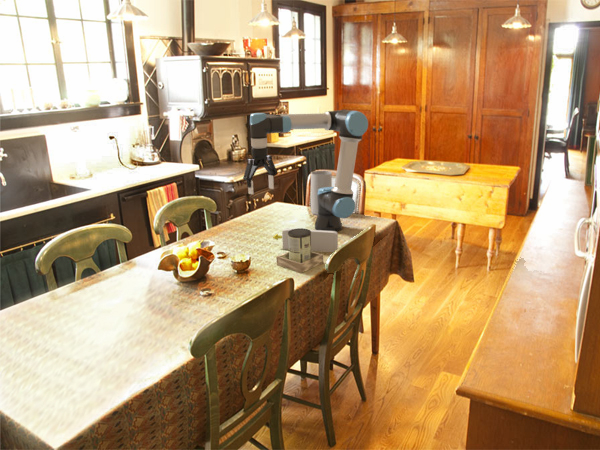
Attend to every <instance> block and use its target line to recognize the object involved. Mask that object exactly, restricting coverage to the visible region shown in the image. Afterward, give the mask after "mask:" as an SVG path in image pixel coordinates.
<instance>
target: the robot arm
mask: <svg viewBox="0 0 600 450" xmlns="http://www.w3.org/2000/svg"><path fill="white" fill-rule="evenodd" d="M249 127H250V144H251V145H250V146H251V148H250V149H251V156H252V158H247V163H246V168H245V171H244V174H243V178H242V180H244V181H246V187H247V191H248V194H249V195H252V196H253V195H254V181H253V178H254V175H255V174H256V171H257V170H258V169H259V168H263V167H264V169H265V170H266V172H267V173H268V176H267V177H268V189H270V190H274V189H275V185H274V184H275V177H276V175H277V174H278V171H277V168H276V165H275V163H274V161H273V156H272V155H271V154H270V155H268V153H269V152H268V135H269V134H280V133H283V134H284V133H289V132H291V131H292V130H312V129H313V130H314V129H315V130H316V129H324V130H325V131H334V132H339V133H338V138H339V139H340V145H339V147H340V148H339V155H338V159H337V160H338V161H337V168H336V173H335V181H334V182H335V183H334V186H332V187H324V188H320V189H318V194H317V196H318V215H316V216H317V217H316V220H315V223H314V230H323V231H335V232H340V231H341V230H342V229H343V223H342V220H341V219H345V218H348V217H350V216H351V215H353V214H354V212H355V209H356V203H355V200H354V199H353V198H354V192H353V190H352V186H353V179H354V171H355V166H356V165H355V164H356V160H357V152H358V146H359V145H358V144H359V142H360V141H362V140H363V135H364V134H365V133H366V132H367V130H368V128H369V120H368V118H367V116H366V115H365V114H364V113H363V112H361V111H358V110H350V109H340V110H338V109H337V110H331V111H330V110H329V111H327V110H326V111H325V112H324V113H323V112H322V113H292V114H291V113H289V114H287V113H286V114H283V113H282V114H269V113H265V112H255V113H250V116H249Z"/></svg>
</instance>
